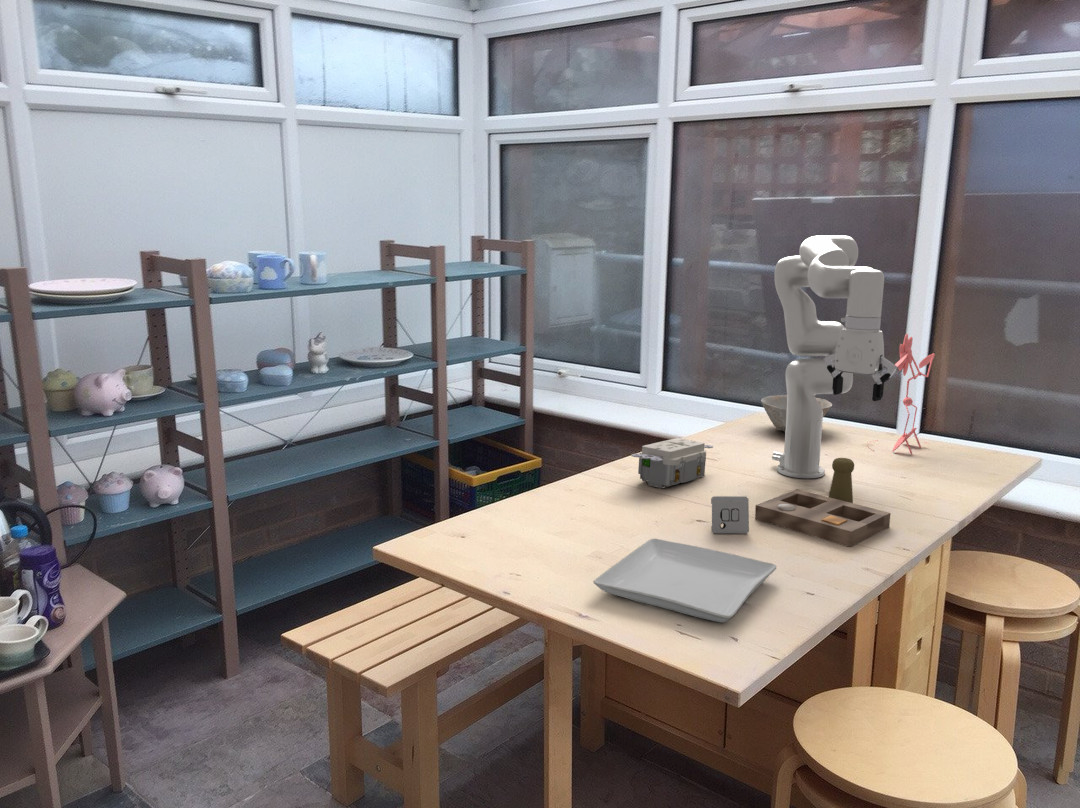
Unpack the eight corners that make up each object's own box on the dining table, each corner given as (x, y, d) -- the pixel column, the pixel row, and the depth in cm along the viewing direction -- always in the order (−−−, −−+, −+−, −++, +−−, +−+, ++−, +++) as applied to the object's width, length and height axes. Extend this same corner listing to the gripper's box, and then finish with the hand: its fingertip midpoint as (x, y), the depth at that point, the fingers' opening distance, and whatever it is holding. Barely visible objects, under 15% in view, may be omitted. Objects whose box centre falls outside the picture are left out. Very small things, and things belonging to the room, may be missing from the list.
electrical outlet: (622, 485, 236) (625, 447, 234) (680, 469, 257) (683, 434, 256) (660, 494, 228) (663, 455, 227) (717, 477, 250) (720, 441, 248)
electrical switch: (711, 534, 202) (713, 498, 202) (707, 529, 207) (709, 493, 206) (749, 534, 203) (750, 498, 202) (744, 529, 207) (745, 493, 206)
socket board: (754, 519, 212) (755, 503, 211) (796, 502, 224) (797, 487, 224) (850, 547, 195) (851, 530, 195) (889, 527, 207) (890, 511, 207)
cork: (854, 506, 222) (858, 462, 220) (828, 504, 223) (832, 461, 221) (851, 498, 228) (855, 456, 226) (826, 496, 229) (829, 454, 227)
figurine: (931, 442, 282) (942, 331, 274) (906, 460, 262) (918, 341, 255) (881, 435, 291) (891, 327, 284) (853, 451, 271) (863, 336, 264)
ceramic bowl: (762, 438, 286) (763, 408, 284) (757, 422, 308) (759, 393, 306) (835, 442, 282) (837, 410, 280) (824, 425, 304) (827, 395, 302)
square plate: (590, 599, 170) (590, 579, 169) (651, 552, 193) (652, 535, 192) (728, 635, 156) (730, 614, 155) (777, 580, 179) (778, 562, 178)
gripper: (820, 321, 211) (814, 393, 215) (892, 329, 199) (885, 405, 203) (835, 319, 216) (830, 389, 220) (907, 326, 204) (900, 400, 208)
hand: (856, 397), depth 211 cm, fingers open, 9 cm apart
